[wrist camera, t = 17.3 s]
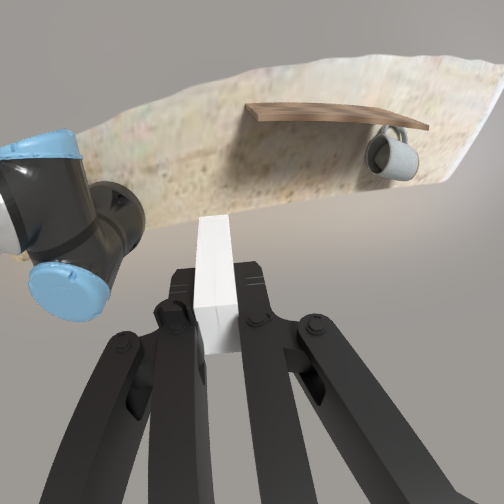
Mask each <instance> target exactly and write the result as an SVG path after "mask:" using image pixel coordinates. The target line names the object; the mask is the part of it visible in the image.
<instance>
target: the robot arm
mask: <svg viewBox="0 0 504 504" xmlns="http://www.w3.org/2000/svg"><path fill="white" fill-rule="evenodd" d="M82 159H83V157H82V155H80V152H79V148H78V145H77V141H76V137H75V135H74V134H73V132H71V131H70V130H67V129H61V130H56V131H52V132H48V133H44V134H41V135H37V136H34V137H30V138H27V139H24V140H21V141H18V142H15V143H12V144H10V145H7V146H4V147H1V148H0V254H1V253H9V254H13V255H17V256H18V255H20V254H21V253H22V252H24V251H25V250H27V252H28V254H29V257H30V259H31V261H32V262H33V265H34V267H33V268H32V270H31V271H30V275H29V282H28V285H29V290H30V292H31V294H32V296H33V298H34V299H35V300H36V302H37V303H38V304H39V305H40V306H41V307H42V308H43V309H45V310H46V311H47V312H49V313H51V314H52V315H54V316H57V317H59V318H61V319H64V320H67V321H72V322H85V321H90V320H92V319H94V318H96V317H97V316H99V315H100V313H101V312H102V311H103V309H104V306H105V304H106V302H107V300H109V298H110V293H111V289H112V286H113V284H114V281H115V278H116V275H117V272H118V270H119V267H120V264H121V262H122V259H123V258H124V257H125V256H126V255H127V254H128V253H129V252H131V251H132V250H133V249H134V248H135V247H136V246H137V245H138V243H139V242H140V240H141V237H142V234H143V232H144V229H145V214H144V210H143V207H142V205H141V203H140V202H139V200H138V199H137V197H136V196H135V195H134V194H133V193H132V192H131V191H130V190H129V189H127V188H126V187H124V186H122V185H120V184H117V183H114V182H108V181H102V182H96V183H93V184H91V185H88V181H87V177H86V174H85V170H84V166H83V162H82ZM153 313H154V315H155V318H156V321H157V323H158V326H159V329H157V330H156V331H154V332H152V333H150V334H147V335H144V336H140V337H138V336H137V335H136V334H135V333H133V332H131V331H123V332H120V333H117V334H116V335H114V336H113V337H112V338H111V339H110V340H109V342H108V343H107V345H106V347H105V349H104V351H103V353H102V355H101V357H100V359H99V361H98V363H97V365H96V367H95V369H94V371H93V373H92V375H91V377H90V379H89V381H88V383H87V385H86V387H85V389H84V392H83V394H82V396H81V398H80V400H79V402H78V404H77V407H76V409H75V411H74V413H73V416H72V418H71V420H70V422H69V425H68V427H67V430H66V432H65V435H64V437H63V439H62V441H61V444H60V446H59V449H58V452H57V454H56V457H55V459H54V462H53V465H52V467H51V470H50V473H49V476H48V478H47V482H46V484H45V487H44V490H43V493H42V496H41V499H40V502H39V504H122V500H123V497H124V494H125V490H126V487H127V484H128V480H129V477H130V473H131V470H132V467H133V464H134V461H135V457H136V454H137V451H138V448H139V445H140V441H141V439H142V436H143V432H144V430H145V427H146V423H147V421H148V417H149V415H150V412H151V415H150V416H151V417H150V432H149V459H148V504H215V503H214V492H213V482H212V469H211V456H210V440H209V425H208V424H209V423H208V402H207V376H206V364H205V360H204V351H205V354H219V353H230V352H240V351H241V352H242V361H243V370H244V377H245V386H246V394H247V402H248V409H249V418H250V425H251V434H252V441H253V449H254V455H255V462H256V470H257V477H258V484H259V490H260V498H261V503H262V504H318V502H317V498H316V494H315V489H314V484H313V480H312V475H311V470H310V466H309V461H308V458H307V452H306V448H305V444H304V440H303V435H302V430H301V426H300V421H299V417H298V413H297V408H296V404H295V400H294V395H293V391H292V387H291V382H290V378H289V373H288V372H293V373H294V375H295V376H296V378H297V380H298V382H299V384H300V385H301V387H302V389H303V390H304V392H305V394H306V396H307V397H308V399H309V401H310V403H311V404H312V406H313V408H314V410H315V411H316V413H317V415H318V416H319V418H320V420H321V421H322V423H323V425H324V427H325V429H326V430H327V432H328V433H329V435H330V437H331V439H332V440H333V442H334V444H335V445H336V447H337V449H338V451H339V452H340V454H341V456H342V457H343V459H344V460H345V462H346V464H347V465H348V467H349V469H350V471H351V472H352V474H353V475H354V477H355V479H356V480H357V482H358V484H359V485H360V487H361V489H362V490H363V492H364V493H365V495H366V497H367V498H368V500H369V502H370V503H371V504H477V503H475V502H474V501H472V500H470V499H468V498H466V497H465V496H463V495H461V494H460V493H458V492H456V491H455V489H454V488H453V487H452V485H451V483H450V482H449V480H448V479H447V478H446V476H445V475H444V473H443V472H442V470H441V469H440V467H439V466H438V465H437V463H436V462H435V460H434V459H433V457H432V456H431V455H430V453H429V452H428V450H427V449H426V447H425V446H424V445H423V443H422V442H421V440H420V439H419V438H418V436H417V435H416V433H415V432H414V431H413V429H412V428H411V426H410V425H409V424H408V422H407V421H406V419H405V418H404V417H403V415H402V414H401V413H400V411H399V410H398V408H397V407H396V406H395V404H394V403H393V402H392V400H391V399H390V397H389V396H388V395H387V393H386V392H385V391H384V389H383V388H382V386H381V385H380V384H379V383H378V381H377V380H376V378H375V377H374V376H373V374H372V373H371V372H370V370H369V369H368V368H367V366H366V365H365V364H364V362H363V361H362V360H361V358H360V357H359V356H358V354H357V353H356V352H355V350H354V349H353V348H352V346H351V345H350V344H349V342H348V341H347V340H346V338H345V337H344V336H343V335H342V333H341V332H340V330H339V329H338V328H337V326H336V325H335V324H334V323H333V321H332V320H330V319H329V318H328V317H326V316H324V315H322V314H309V315H306V316H304V317H303V318H301V320H300V321H299V322H297V321H289V320H285V319H282V318H280V317H278V316H277V315H275V314H274V312H273V311H272V309H271V307H270V303H269V298H268V294H267V290H266V286H265V281H264V277H263V272H262V268H261V267H260V266H259V265H258V264H257V263H256V262H255V261H252V262H243V263H233V258H232V248H231V239H230V229H229V219H228V215H217V216H207V217H199V229H198V242H197V255H196V268H187V269H177V270H176V272H175V273H174V274H173V276H172V278H171V284H170V291H169V297H168V299H166V300H164V301H162V302H161V303H159V304H158V305H157V306H156V308H155V310H154V312H153Z"/></svg>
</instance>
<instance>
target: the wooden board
mask: <svg viewBox="0 0 504 504" xmlns="http://www.w3.org/2000/svg"><path fill="white" fill-rule="evenodd" d="M245 107H246V109H247V110H248V111H249V112H250V113H251V114H252V115H253V116H254V118H255V119H256V120H257V121H337V122H355V123H369V124H380V125H390V126H398V127H406V128H414V129H421V130H427V131H429V125H427V124H424V123H422V122H419V121H416V120H413V119H411V118H408V117H405V116H402V115H399V114H396V113H393V112H390V111H386V110H383V109H380V108H374V107H364V106H354V105H341V104H324V103H248V104H245Z"/></svg>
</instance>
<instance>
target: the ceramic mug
mask: <svg viewBox="0 0 504 504" xmlns="http://www.w3.org/2000/svg"><path fill="white" fill-rule="evenodd" d="M388 126H390V125H383V127H382V129H381V133H380V134H379V135H376V136H375V137H374V138H373V139H372V140H371V142H370V144H369V146H368V149H367V153H366V163H367V167H368V169H369V171H370V172H371V173H372V174H373V175H375V176H380V177H384V178H389V179H394V180H398V181H408V180H411V179H412V178H413V177H414V176H415V175H416V173H417V171H418V167H419V157H418V154H417V152H416V151H415V150H414V149H413V148H412V147H411V146H409V145H408V137H407V133H406V131H405V129H404V128H403V127H398V126H393V127H395V128H396V129H397V130H399V131H400V133H401V136H402V142H400V141H398V140H396V139H394V138H391V137H389V136H387V135H386V132H387V129H388Z"/></svg>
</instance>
